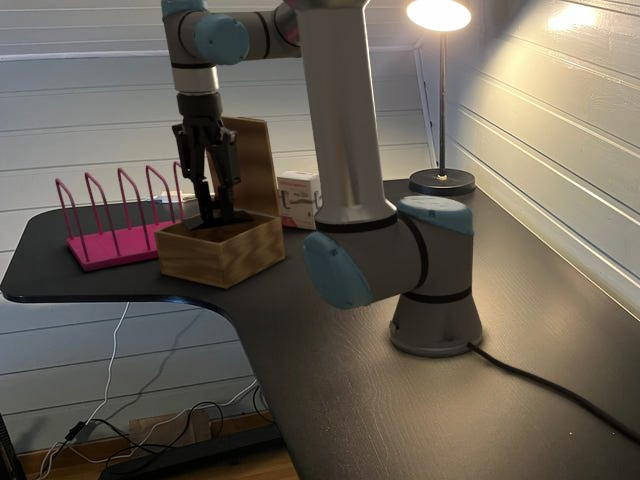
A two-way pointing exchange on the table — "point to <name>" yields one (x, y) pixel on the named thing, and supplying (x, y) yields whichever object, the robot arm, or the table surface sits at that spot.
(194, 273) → the chest
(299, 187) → the ink box
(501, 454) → the table surface
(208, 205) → the black angular piece
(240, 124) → the chest lid
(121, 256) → the file sorter
